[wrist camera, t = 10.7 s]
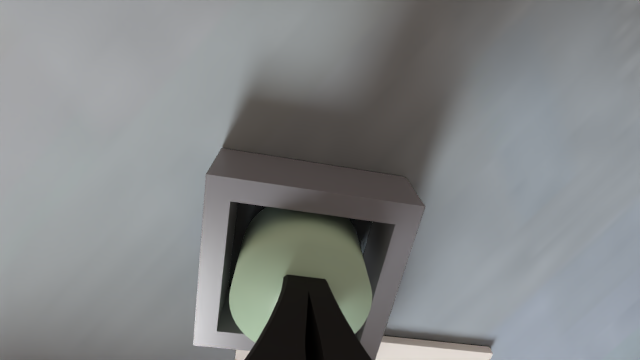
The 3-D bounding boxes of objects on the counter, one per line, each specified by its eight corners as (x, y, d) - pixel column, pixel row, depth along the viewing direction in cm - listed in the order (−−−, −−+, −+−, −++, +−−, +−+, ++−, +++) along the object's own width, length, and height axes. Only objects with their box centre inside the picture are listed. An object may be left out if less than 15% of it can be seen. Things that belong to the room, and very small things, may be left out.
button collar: (405, 176, 15) (425, 206, 12) (364, 317, 17) (374, 362, 15) (221, 148, 14) (206, 174, 11) (207, 299, 16) (193, 345, 14)
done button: (370, 206, 14) (387, 251, 12) (345, 301, 16) (354, 360, 13) (249, 189, 14) (236, 231, 11) (236, 289, 16) (223, 348, 13)
